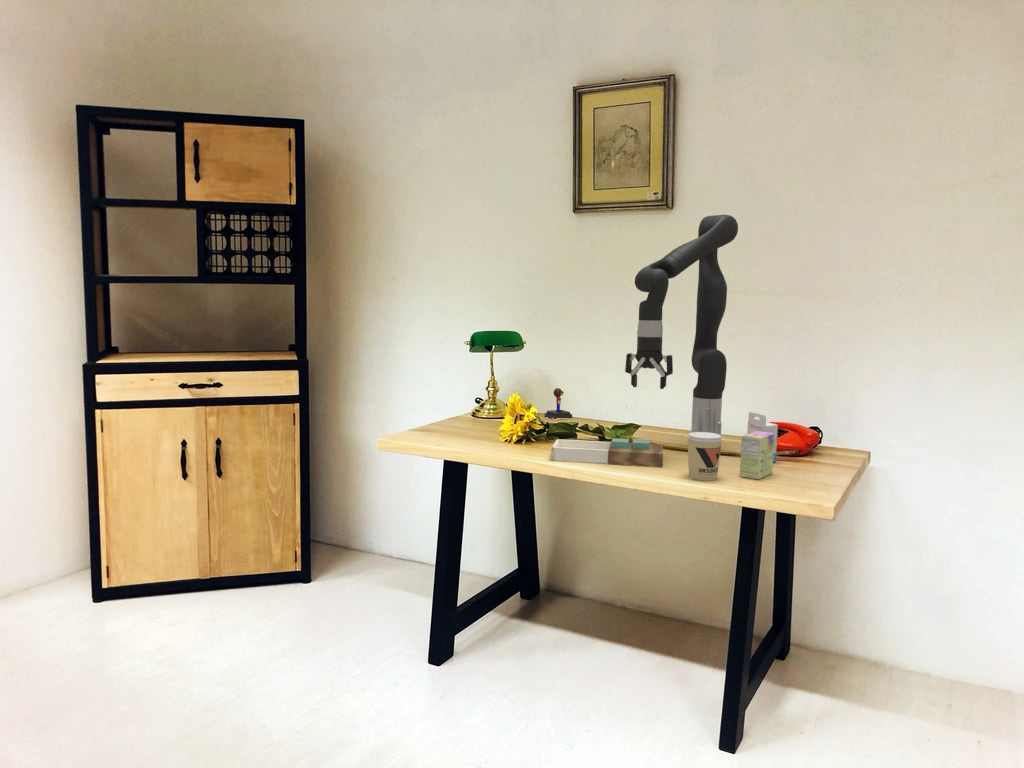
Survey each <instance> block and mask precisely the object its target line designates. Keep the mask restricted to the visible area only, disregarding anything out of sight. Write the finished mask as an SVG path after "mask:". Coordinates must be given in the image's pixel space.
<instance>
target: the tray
mask: <svg viewBox="0 0 1024 768" xmlns="http://www.w3.org/2000/svg"><path fill="white" fill-rule="evenodd" d="M611 442H612V441H600V440H599V441H598V440H582V439H581V440H579V439H578V440H577V439H564V438H563V439H560V438H557V439H556V440H555V442H554V443H553V445H552V446H551V462H553V461H554V462H570V463H571V462H572V463H589V464H603V463H605V465H606V464H607V465H609V464H608V450H609V446H610V443H611Z"/></svg>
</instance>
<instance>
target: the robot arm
mask: <svg viewBox="0 0 1024 768" xmlns="http://www.w3.org/2000/svg"><path fill="white" fill-rule="evenodd" d="M738 224H739V223H738V222H737V220H736V218H735V217H734V216H732V215H730V214H717V215H715V214H714V215H708V216H704V217H703V218H702V219H701V221H700V222H699V226H698V230H697V231H698V233H697V237H696V238H694V239H692V240H690V241H688V242H685V243H683V244H682V245H680V246H678V247H676V248H674V249H673V250H672V251H670V252H669V253H667V254H666V255H664V257H662V258H661V259H658V260H657V261H654V262H652V263H650V264H649V265H646V266H644V267H643V268H641V269H640V270H639V271H638V272H637V273H636V275H635V278H634V286H635V288H636V289H637V290H638V291H640V292H643V293H648V294H647V297H646V299H645V300H642V301H640V302H639V305H638V324H637V331H636V335H637V339H636V353H632V352H629V353H626V356H625V358H626V359H625V367H624V369H625V370H624V372H625V373H627V374H630V378H631V379H630V383H631V384H630V385H631V386H632V387H633V388H637V387H638V373H639V371H640V370H641V369H652V370H653V369H655V370H656V371H657V372H658V373H659V375H660V377H659V378H660V380H659V381H660V382H659V389H660V390H664V389H665V387H666V386H667V377H668V376H670V375H673V373H674V372H673V371H674V368H673V367H674V366H673V365H674V364H673V355H671V354H668V355H663V335H664V334H663V331H664V329H663V327H664V326H663V306H664V304H665V299H666V296H667V293H668V289H669V283H670V281H669V280H670V279H674V278H676V277H677V276H678V275H680V274H681V273H683V272H684V271H685V270H686V269H688V268H689V267H690V266H692V265H693V264H695V263H696V262H697V261H698V277H697V278H698V282H697V291H696V292H697V293H696V316H695V336H694V341H693V348H692V355H691V367H692V369H693V370H694V371H695V373H697V382H696V385H695V386H694V388H693V390H692V407H691V408H692V410H691V429H690V430H691V431H690V433H692V432H709V433H716V434H719V435H721V436H722V404H723V393H724V390H725V388H726V379H727V369H728V368H727V367H728V366H727V364H728V363H727V358H726V356H725V354H724V352H722V351H721V350H719V349H718V347H717V346H718V332H719V328H720V325H721V322H722V320H723V318H724V315H725V312H726V308H727V295H728V285H727V282H726V278H725V276H724V275H723V271H722V269H721V268H720V265H719V260H718V250H719V249H720V248H721V247H724V246H726V245H728V244H730V243H731V242H733V241H734V240H735V239H736V237H737V235H738V232H739V225H738ZM634 360H636V361H637V364H636V365H635V366H634V368H633V369H632V366H633V365H632V364H633V361H634ZM663 360H664V362H665V363H666V370H665V369H664V367H663V364H661V362H662V361H663Z"/></svg>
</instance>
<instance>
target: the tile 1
mask: <svg viewBox="0 0 1024 768" xmlns="http://www.w3.org/2000/svg"><path fill="white" fill-rule="evenodd" d="M629 440H630V439H629V438H613V437H612V440H611V442H612V445H611V448H621V449H628V446H629V443H630V441H629Z"/></svg>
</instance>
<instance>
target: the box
mask: <svg viewBox="0 0 1024 768" xmlns="http://www.w3.org/2000/svg"><path fill="white" fill-rule="evenodd" d="M740 442H741V443H740V463H739V465H740V466H739V477H741V478H747V479H753V480H761V479H763V478H765V477H766V476H768V475H772V473H773V464H774V462H773V446H774V433H768V432H760V431H755V432H752V433H749V434H747V433H746V434H743V435H741V441H740Z"/></svg>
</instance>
